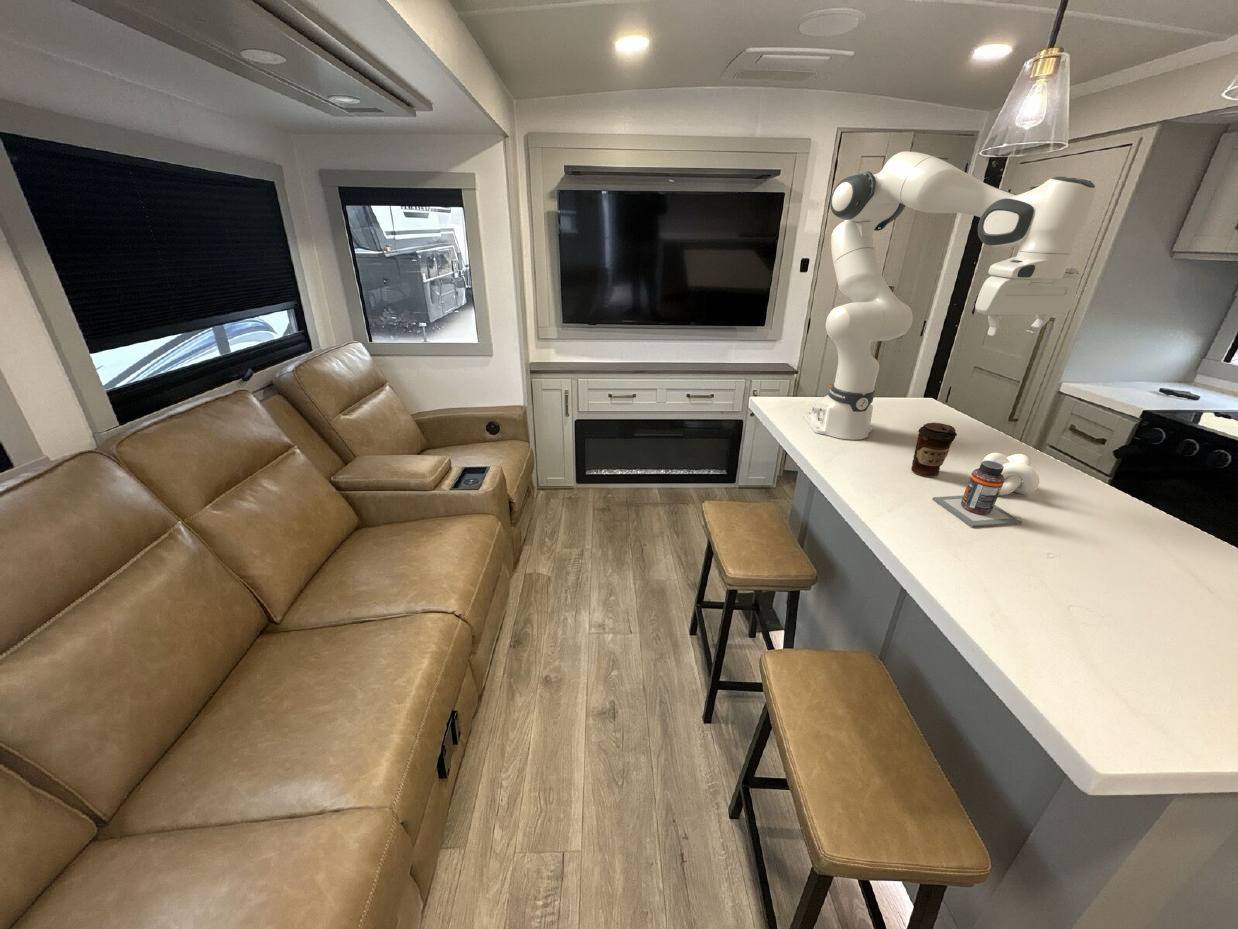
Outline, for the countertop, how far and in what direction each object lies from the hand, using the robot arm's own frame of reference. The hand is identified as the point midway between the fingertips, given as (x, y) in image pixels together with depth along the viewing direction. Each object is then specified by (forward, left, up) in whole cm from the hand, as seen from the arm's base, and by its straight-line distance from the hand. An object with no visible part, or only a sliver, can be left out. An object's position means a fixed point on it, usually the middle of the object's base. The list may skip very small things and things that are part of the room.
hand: (1012, 335), depth 107 cm
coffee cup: (-6, -5, -37) cm, 38 cm away
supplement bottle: (+13, -7, -36) cm, 39 cm away
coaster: (+13, -7, -37) cm, 40 cm away
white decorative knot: (+4, +8, -37) cm, 38 cm away
